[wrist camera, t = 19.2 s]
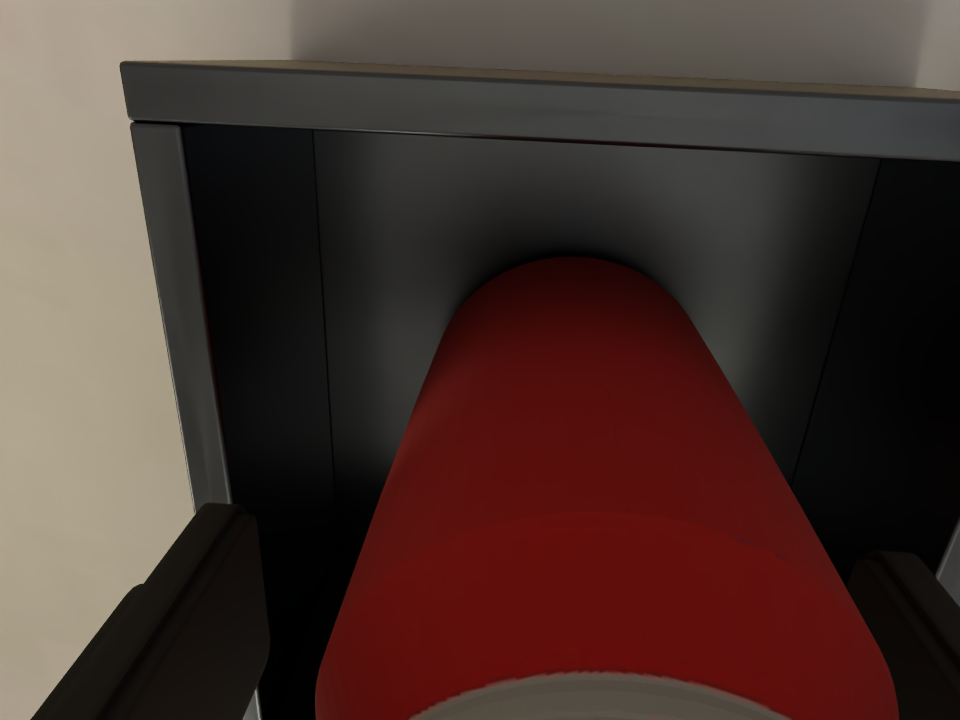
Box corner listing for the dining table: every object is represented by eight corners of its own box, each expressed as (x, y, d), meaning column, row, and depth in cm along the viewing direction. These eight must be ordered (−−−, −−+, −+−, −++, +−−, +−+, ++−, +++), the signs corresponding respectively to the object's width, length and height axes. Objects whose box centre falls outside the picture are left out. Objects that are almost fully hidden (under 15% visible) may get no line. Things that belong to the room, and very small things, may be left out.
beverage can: (435, 473, 19) (288, 1040, 8) (437, 237, 16) (215, 608, 5) (679, 492, 18) (874, 1119, 8) (724, 253, 16) (1137, 696, 5)
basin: (775, 583, 21) (877, 816, 14) (323, 543, 22) (231, 745, 15) (916, 87, 15) (1197, 109, 8) (288, 60, 16) (115, 61, 9)
